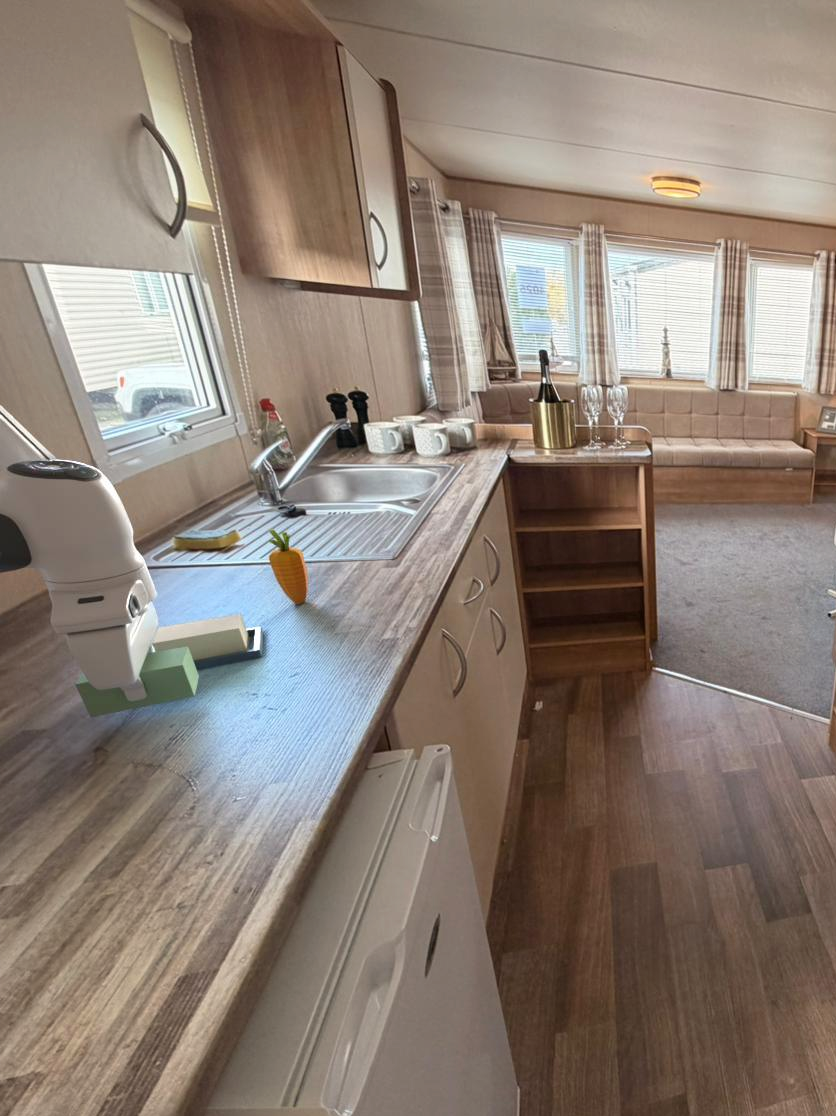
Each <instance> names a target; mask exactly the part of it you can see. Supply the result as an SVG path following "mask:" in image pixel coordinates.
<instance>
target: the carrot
mask: <svg viewBox="0 0 836 1116" xmlns="http://www.w3.org/2000/svg"><path fill="white" fill-rule="evenodd" d="M268 533H270V535H271V536H272V537H273V538H274V539H270V540H268V542H269V543H270V544H272V545H274V546H275V547H276V548H277V549H274V550H272V552H271V553H270V554H269V556H268V560H269V564H270V567H271V569H272V572H273V574H274V576H275V579H276V581H277V583H278V585H279V586H280V588H281V591H283V593H284V594H285V596H286V597H287V598H288V599H289V600H290V601H291V602H292V603H294V605H302V604H305V603H306V600H307V597H308V591H309V575H308V570H307V569H308V568H307V565H306V561H305V557H304V554H303V551H302V550H301V549H299V548H295V547H291V546H290V539H291V535H290V534H288V532H286V531H281V536H280V534H279V533H278V532H277V531H276V530H275V529H270V530H269V532H268Z"/></svg>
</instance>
